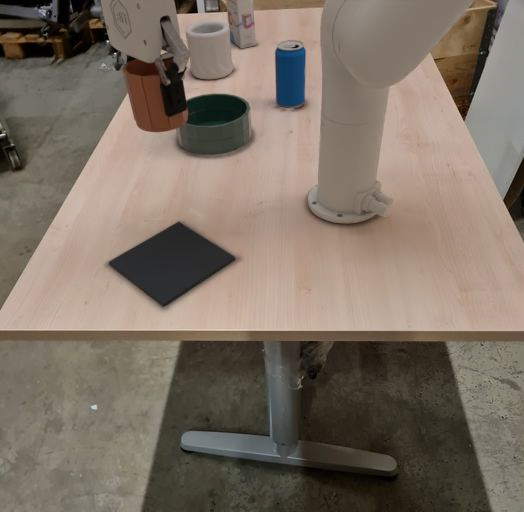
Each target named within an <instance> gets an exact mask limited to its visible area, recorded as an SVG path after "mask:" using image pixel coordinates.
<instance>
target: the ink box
mask: <svg viewBox="0 0 524 512" xmlns="http://www.w3.org/2000/svg"><path fill="white" fill-rule="evenodd" d="M225 4H226V13H227V21H228V23H227V24H228V26H229V28H230V42H232V43H234V45H236V46H237V47H239V49H241V50H242V49H246V48H250V47H254V46H257V38H256V37H257V36H256V24H255V23H256V21H255V7H254V0H225Z"/></svg>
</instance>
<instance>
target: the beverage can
mask: <svg viewBox="0 0 524 512" xmlns="http://www.w3.org/2000/svg"><path fill="white" fill-rule="evenodd" d="M306 56H307V51H306V47H305V43H304V42H303V41H301V40H297V39H287V40H286V39H285V40H282V41H279V42H278V43H276V49H275V51H274V67H275V68H274V69H275V70H274V71H275V101H276V104H277V105H278V106H280V107H282V108H292V109H297V108H300V107H301V106H302V105H303V104H304V103H305V101H306V65H307V64H306V59H307V57H306Z"/></svg>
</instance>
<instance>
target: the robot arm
mask: <svg viewBox="0 0 524 512" xmlns="http://www.w3.org/2000/svg"><path fill="white" fill-rule="evenodd" d="M475 1H476V0H325V2H324V5H323V8H322V13H321V16H320V28H319V30H320V31H319V32H320V34H319V38H320V39H319V40H320V41H319V42H320V56H321V104H320V120H319V122H320V123H319V142H318V143H319V144H318V166H317V167H318V168H317V184H315V185H314V186H313V187H312V188H311V189H310V191H309V192H308V195H307V204H308V205H307V206H308V208H309V210H310V211H311V212H312V213H313V214H314V215H315V216H317V217H319V218H320V219H322V220H325V221H327V222H330V223H336V224H356V223H362V222H364V221H368V220H369V219H372V218H373V217H375V216H380V217H382V218H387V217H388V216H390V213H391V211H392V207H391V205H392V204H393V202H394V201H393V200H394V199H393V197H390V196H388V195H384V194H382V192H381V188H382V181H380V180H377V175H378V168H379V164H380V163H379V162H380V154H381V147H382V141H383V135H384V127H385V121H386V120H385V119H386V113H387V109H388V103H389V92H390V87H392V86H394V85H396V84H398V83H399V82H401V81H402V80H404V79H406V78H407V76H409V75H410V74H411V73H412V72H414V71H415V69H416V68H417V67H418V66H419V65H420V64H421V63H422V62H423V61H424V59H426V58H427V56H428V55H430V54H431V52H432V51H433V49H434V48H435V47H436V46H437V45H438V44H439V43H440V42H441V40H443V38H444V37H445V36H446V35H447V33H448V32H449V31H450V30H451V29H452V27H453V26H454V25H455V24H456V23H457V22H458V21H459V20H460V19H461V18H462V16H463V15H464V14H465V13H466V11H468V9H469V8H470V7H471V5H473V3H474V2H475ZM100 4H101V10H102V15H103V19H104V23H105V28H106V32H107V36H108V40H109V44H111V46H112V47H113V48H114V49H115V50H117V51H118V52H119V54H120V62H121V64H122V67H124V66H125V65H126V64H127V63H128V62H129V61H132V60H135V59H139V60H141V61H144V62H146V63H153V62H154V63H155V66H156V68H157V70H158V73H159V75H160V77H161V80H162V82H163V83H162V84H160V89H161V94H162V99H163V104H164V109H165V114H166V116H168V117H172V116H174V115H176V114H179V113H181V112H183V111H186V109H187V104H186V100H187V97H185V96H186V90H185V85H183V84H184V80H185V78H186V75H185V73H186V71H187V66H188V63H189V61H190V53H189V50H188V46H186V44H185V42H184V41H183V39H182V38H181V32H180V25H179V19H178V13H177V8H176V3H175V0H100ZM162 51H164V52H165V53H162ZM169 59H170V62H171V64H170V66H169V68H168V70H166V68H165V65H164V63H163V61H166V60H169ZM184 90H185V91H184Z"/></svg>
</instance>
